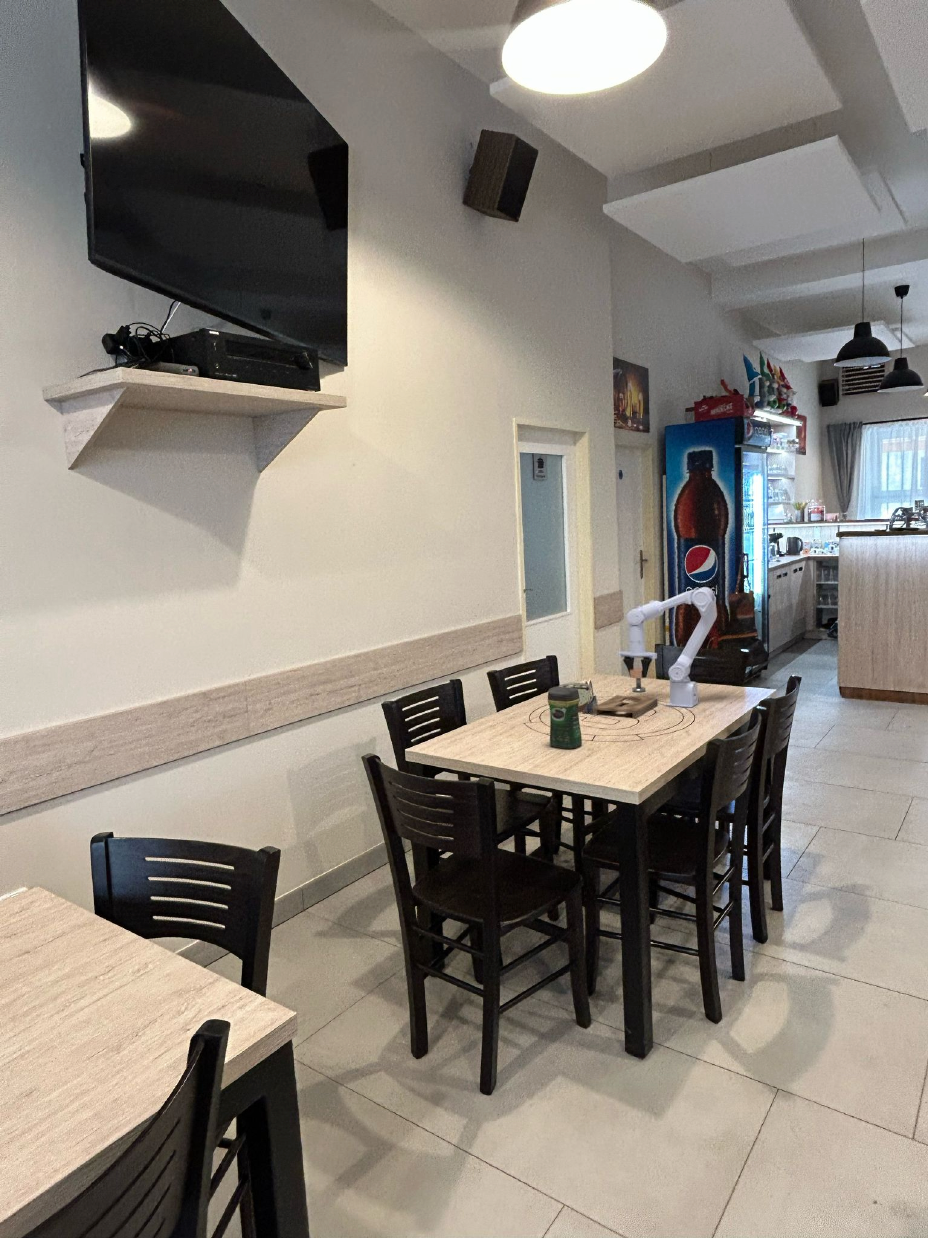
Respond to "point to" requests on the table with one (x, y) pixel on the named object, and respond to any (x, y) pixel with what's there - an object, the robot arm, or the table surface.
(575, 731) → the coffee jar
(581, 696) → the food container
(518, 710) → the table surface
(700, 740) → the table surface
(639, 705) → the keyhole plate
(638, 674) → the key peg
